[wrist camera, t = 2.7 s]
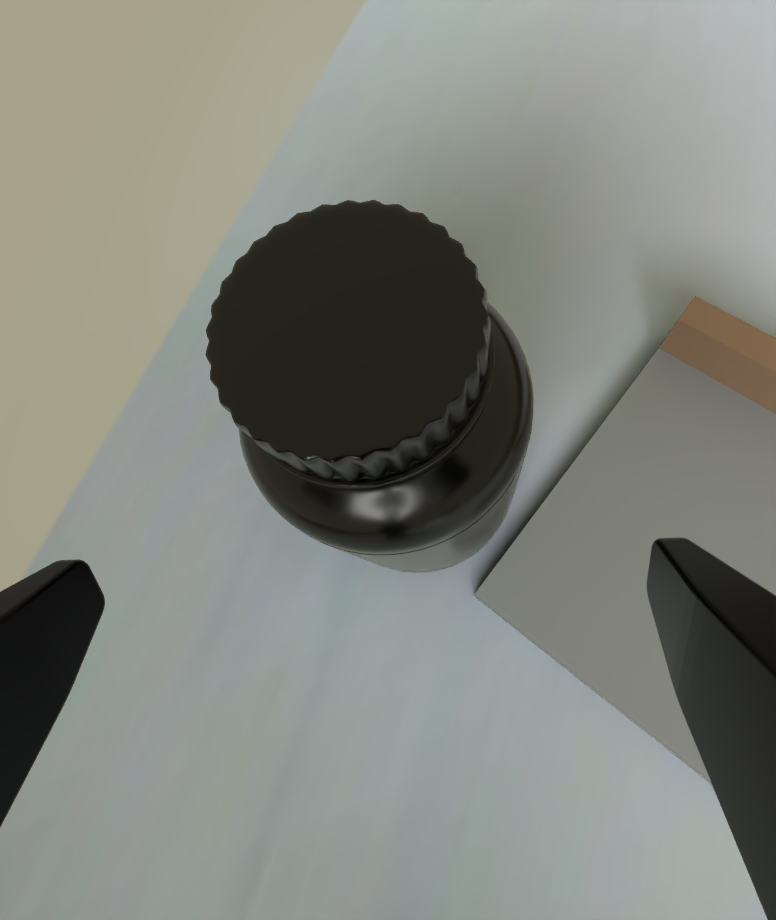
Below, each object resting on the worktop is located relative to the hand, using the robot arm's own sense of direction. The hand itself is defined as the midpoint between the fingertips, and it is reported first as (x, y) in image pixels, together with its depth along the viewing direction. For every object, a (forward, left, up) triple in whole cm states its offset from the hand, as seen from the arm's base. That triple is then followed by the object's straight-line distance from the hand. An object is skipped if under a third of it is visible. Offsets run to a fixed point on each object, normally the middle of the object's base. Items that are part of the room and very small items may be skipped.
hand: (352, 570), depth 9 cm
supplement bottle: (+3, +3, -11) cm, 12 cm away
